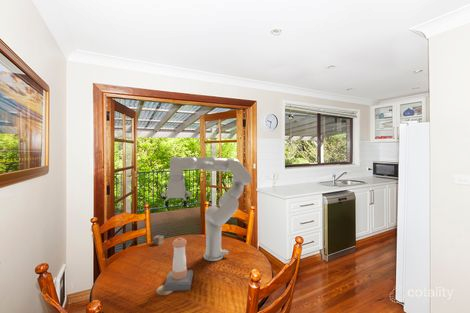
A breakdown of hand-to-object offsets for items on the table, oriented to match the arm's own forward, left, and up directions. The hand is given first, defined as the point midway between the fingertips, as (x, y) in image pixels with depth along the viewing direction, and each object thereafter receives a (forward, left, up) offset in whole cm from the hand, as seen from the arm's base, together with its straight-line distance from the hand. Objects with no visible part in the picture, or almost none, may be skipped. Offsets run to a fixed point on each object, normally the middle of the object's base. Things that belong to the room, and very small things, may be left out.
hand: (176, 207), depth 126 cm
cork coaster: (+1, +24, -34) cm, 42 cm away
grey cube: (+17, -31, -33) cm, 49 cm away
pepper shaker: (-5, +18, -30) cm, 35 cm away
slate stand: (-5, +19, -33) cm, 39 cm away
